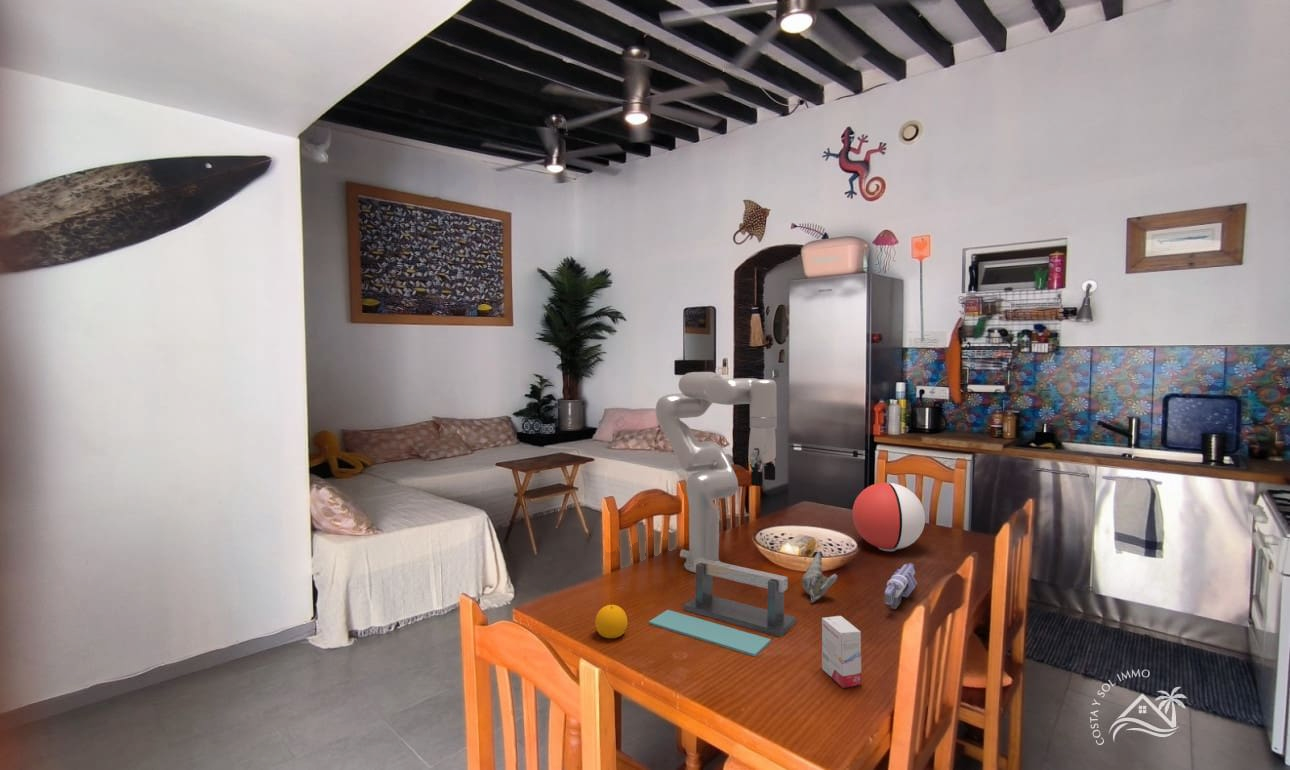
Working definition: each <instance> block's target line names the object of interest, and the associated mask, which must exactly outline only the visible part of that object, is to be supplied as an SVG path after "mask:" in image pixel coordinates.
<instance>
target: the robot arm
mask: <svg viewBox="0 0 1290 770" xmlns="http://www.w3.org/2000/svg"><path fill="white" fill-rule="evenodd" d="M678 389H679V391H680V393H671V394H665V395H663V396H660V398H658V400H657V402H656V405H655V417H656V420H657V423H658V425H659V427H660V429H661V430H662V432H663V434H664V435H665V437H666V438H667V441H669V443H670V446H671V448H672V450H673V452H674V455H675V457H676V459H677V461H678V463H679V465H680V466H681V468H682V470H683V471H685V472H689V473H692V474H690V475H689V476H688V477H687V480H686V485H685V486H686V493H687V500H688V506H689V508H688V509H689V511H688V512H689V515H688V517H689V518H688V519H689V521H688V523H689V530H688V531H689V532H688V533H689V534H688V535H689V538H688V539H689V544H688V545H689V546H688V548H689V550H686V549H681V550H680V552H679V557H680V558H683V559H685V562H684V568H685V569H686V570H687V571H689V572H692V573H695V574H696V572H695V571H694V560H696V559H697V558H704V559H709V560H713V561H717V562H722V561H721V560H720V559H719V558H720V556H719V553H720V552H719V549H720V544H719V543H720V538H719V537H720V528H719V527H720V523H719V522H720V514H719V511H718V508H717V506H716V504H715V503H714V500H719V499H726V498H729V497H730V498H731V497H732V496H734V495H735V494H736V493H737V492H738V489H739V488H738V487H739V480H738V477H737V475H736V473H735V470H734V468H733V466H732V465H731V463H730V460H729V459H728V456H727V455H726V453H725V451H724V449H723V448H722V447H721V445H719V444H718V443H717V442H715V441H699V440H698V439H697V437H695V434H694V432H693V430H692V429H691V428H690V426H688V425H687V424H686V423H685V422H684V421H682V420H681V419H688V418H698V417H702V416H703V415H704V414H706V412H707V411H708V409H709V408H710V407H711V406H712V404H718V405H726V406H729V405H730V406H733V405H734V406H735V405H746V404H747V405H748V404H749V428H750V430H749V438H748V439H749V440H748V463H749V466H750V472H751V473H750V476H751V477H750V479H751V480H750V484H751V486H754V487H762V486H763V485H764V483H763V482H764V480H767V481H775V480H776V465H777V464H776V460H777V456H776V455H777V449H776V448H777V443H776V439H777V438H776V429H777V427H778V426H777V423H778V422H777V420H778V417H777V415H778V413H777V411H778V410H777V404H778V402H777V398H778V397H777V394H778V392H777V382H776V381H775V380H773V379H760V378H759V379H758V378H755V377H754V378H753V377H751V378H750V377H749V378H748V377H747V378H746V377H745V378H744V377H743V378H741V377H740V378H723V377H722V376H721V375H719V374H717V373H715V372H713V371H692V372H687V373H685V374H684V375H682V376H681V377H680V379H679V381H678ZM763 465H764V466H763ZM763 468H764V469H763ZM762 470H763V471H764V472H763V471H762Z"/></svg>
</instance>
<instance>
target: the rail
mask: <svg viewBox="0 0 1290 770" xmlns="http://www.w3.org/2000/svg"><path fill="white" fill-rule="evenodd" d="M696 564H701V565H704V574H708V575H712V576H713V577H715V578H721V579H726V580H730V581H734V582H736V583H737V582H738V583H741V584H747V585H750V586H754V587H759V588H762V589H766V590H768V581H769V580H771V581H775V582H777V591H779V592H784V593H785V591H787V590H788V587H789V585H788V584H789V583H788V580H789V579H788V578H789V577H788V576H785V575H781V574H775V573H772V572H768V571H767V572H766V571H761V570H757V569H752V568H748V567H745V566H744V567H742V566H739V565H736V564H735V565H734V564H729V563H727V562H726V563H725V562H722V561H721V562H717V561H713V560H708V559H704V558H697V559H696V560H694V571H695V572H696Z"/></svg>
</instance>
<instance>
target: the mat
mask: <svg viewBox="0 0 1290 770" xmlns="http://www.w3.org/2000/svg"><path fill="white" fill-rule="evenodd" d="M648 625H651V626H654V627H659V628H661V629H664V630H667V631H670V632H673V633H678V634H681V635H684V636H687V637H689V638H693V639H697V640H700V641H703V642H706V643H710V644H712V645H715V646H719V647H722V648H726V649H728V650H731V651H736V652H739V653H742V654H744V655H749V656H751V657H753V658H754V657H757V655H759V654H760V653H761V652H763V650H764V649H765V648H766V647H767V646H768V645H769V644H770V643H771V642H772V639H771V638H767V637H765V636H761V635H757V634H755V633H754V634H753V633H750V632H747V631H743V630H739V629H737V628H733V627H729V626H726V625H723V624H719V623H715V622H712V621H709V620H705V619H700V618H698V617H695V616H691V615H687V614H684V613H680V612H677V611H674V610H670V609H667V610H665V611H663V612H662V613H660V614H658V615H657V616H655V617H654V618H653V619H651V620H649V621H648Z"/></svg>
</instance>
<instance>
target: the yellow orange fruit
mask: <svg viewBox="0 0 1290 770" xmlns="http://www.w3.org/2000/svg"><path fill="white" fill-rule="evenodd" d="M594 623H595V628H596V631H597V632H598V634H599V635H600V636H601V637H603V638H606V639H617V638H619V637H622V635H624V633H625V632H626V630H627V627H628V618H627V614H626V612H625V610H624V609H623V608H622V607H620V606H618V605H617V604H606V605H605V606H603V607H602V608H600V610H599V611H598V612H597V614H596V616H595V622H594Z"/></svg>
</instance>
